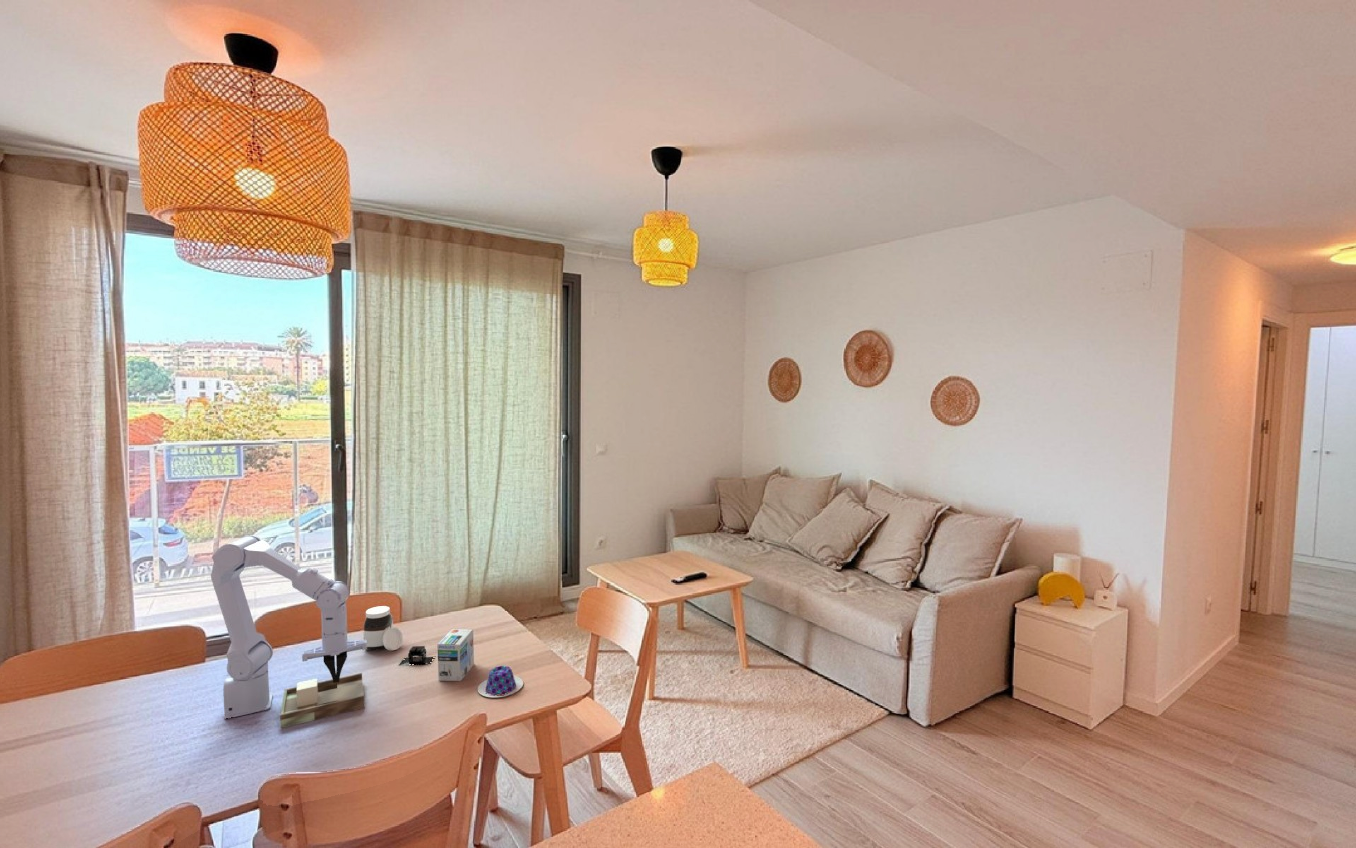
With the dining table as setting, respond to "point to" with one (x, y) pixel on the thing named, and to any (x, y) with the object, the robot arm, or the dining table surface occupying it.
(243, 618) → the robot arm
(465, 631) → the light bulb box
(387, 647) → the spread jar
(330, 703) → the brown shallow open box
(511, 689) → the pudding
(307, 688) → the cream block
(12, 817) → the dining table surface
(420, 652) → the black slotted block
